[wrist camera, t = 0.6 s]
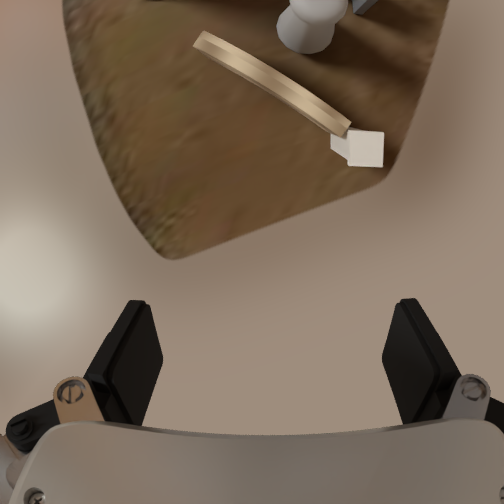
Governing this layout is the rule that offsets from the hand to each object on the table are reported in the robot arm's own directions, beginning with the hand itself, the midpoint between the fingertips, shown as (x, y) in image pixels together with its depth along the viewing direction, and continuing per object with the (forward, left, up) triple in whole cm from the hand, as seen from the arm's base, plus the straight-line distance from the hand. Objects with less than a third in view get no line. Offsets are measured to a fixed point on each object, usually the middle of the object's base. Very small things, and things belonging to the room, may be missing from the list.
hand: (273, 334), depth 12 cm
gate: (-10, +1, -26) cm, 28 cm away
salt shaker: (-17, +4, -27) cm, 32 cm away
